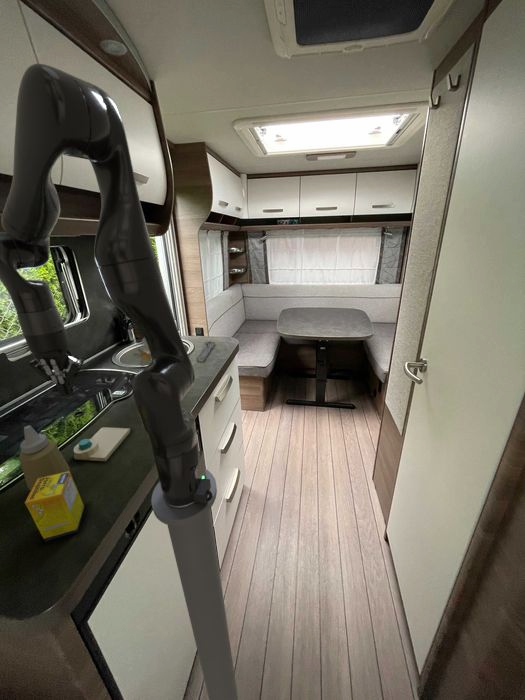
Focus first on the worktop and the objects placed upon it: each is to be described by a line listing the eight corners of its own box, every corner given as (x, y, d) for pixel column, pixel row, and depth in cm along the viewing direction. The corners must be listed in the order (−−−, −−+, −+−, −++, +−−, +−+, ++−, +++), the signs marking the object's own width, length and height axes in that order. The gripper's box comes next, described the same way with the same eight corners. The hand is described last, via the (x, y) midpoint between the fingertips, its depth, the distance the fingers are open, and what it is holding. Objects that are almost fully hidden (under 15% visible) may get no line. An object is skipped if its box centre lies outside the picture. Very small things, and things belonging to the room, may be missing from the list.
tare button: (84, 443, 77) (83, 438, 76) (93, 443, 76) (91, 438, 76) (78, 450, 74) (76, 445, 74) (86, 450, 74) (85, 445, 73)
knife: (192, 361, 130) (203, 361, 129) (192, 361, 130) (203, 361, 129) (207, 342, 153) (216, 342, 152) (207, 341, 153) (216, 341, 152)
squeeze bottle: (78, 487, 66) (53, 426, 59) (36, 510, 61) (4, 446, 54) (69, 469, 71) (46, 411, 64) (30, 488, 66) (0, 427, 59)
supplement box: (54, 515, 60) (36, 478, 55) (85, 507, 61) (70, 470, 57) (43, 542, 54) (23, 503, 50) (78, 532, 56) (61, 493, 52)
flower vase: (140, 410, 95) (124, 342, 85) (160, 383, 112) (148, 324, 102) (178, 410, 94) (166, 342, 84) (192, 383, 111) (183, 323, 101)
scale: (102, 430, 86) (100, 422, 85) (130, 431, 85) (128, 423, 84) (71, 461, 74) (68, 452, 73) (104, 463, 73) (101, 454, 72)
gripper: (1, 334, 59) (30, 402, 66) (57, 334, 58) (81, 404, 65) (32, 323, 66) (55, 386, 73) (82, 323, 65) (102, 387, 71)
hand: (67, 394), depth 69 cm, fingers closed
